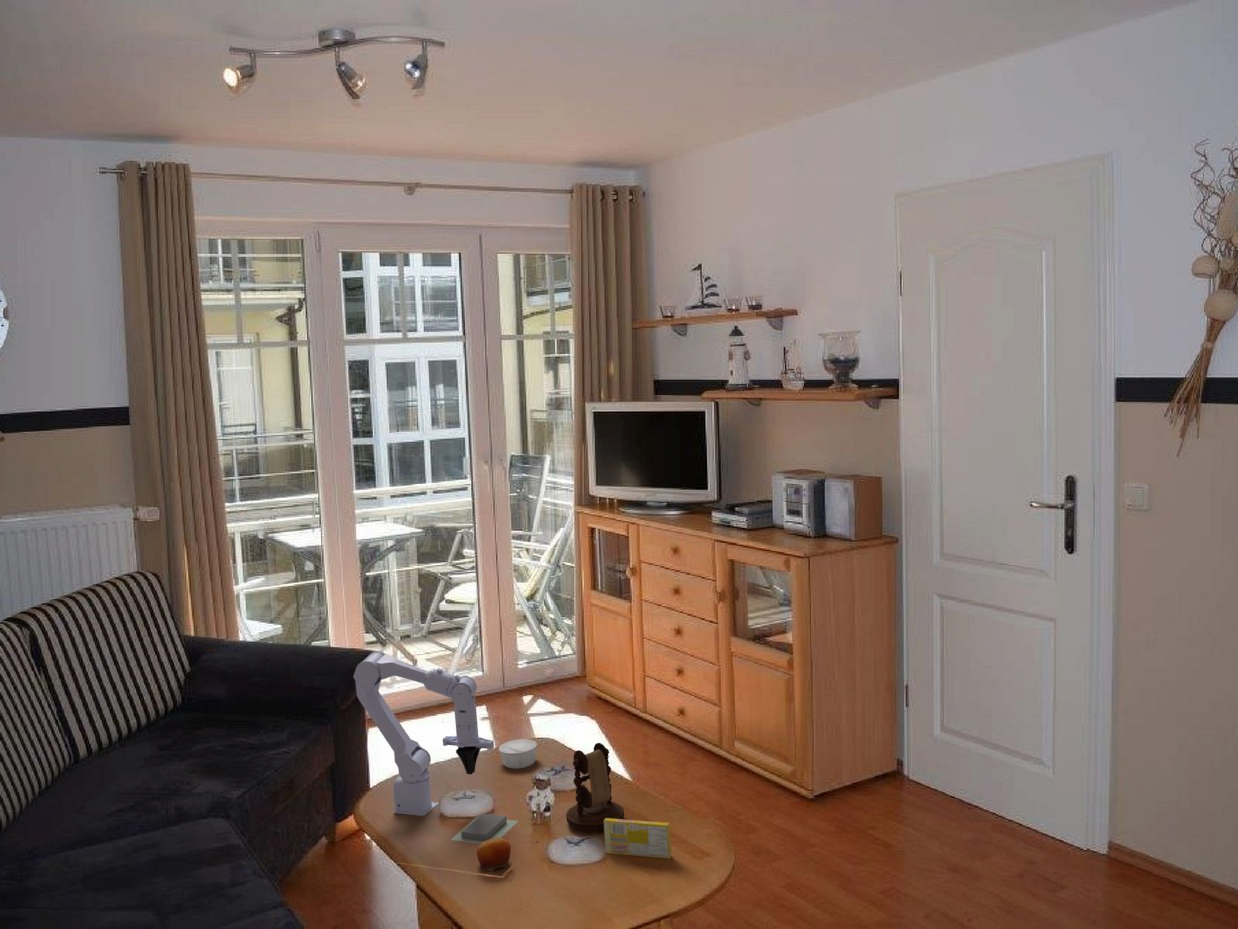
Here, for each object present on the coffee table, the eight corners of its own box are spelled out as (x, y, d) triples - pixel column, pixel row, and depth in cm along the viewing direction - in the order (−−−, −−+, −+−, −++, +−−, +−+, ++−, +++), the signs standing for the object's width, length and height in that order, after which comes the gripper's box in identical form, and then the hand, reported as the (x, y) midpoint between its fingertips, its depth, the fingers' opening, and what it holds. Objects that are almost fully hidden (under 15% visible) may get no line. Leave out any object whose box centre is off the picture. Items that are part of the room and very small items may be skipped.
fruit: (488, 875, 262) (479, 840, 265) (479, 880, 268) (470, 846, 271) (520, 865, 266) (511, 831, 268) (510, 870, 272) (502, 837, 275)
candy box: (672, 855, 269) (670, 822, 268) (669, 860, 267) (667, 826, 266) (608, 849, 274) (605, 817, 273) (605, 853, 272) (602, 820, 271)
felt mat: (450, 841, 284) (450, 840, 284) (477, 818, 297) (477, 816, 297) (492, 846, 280) (492, 845, 279) (518, 822, 292) (518, 821, 292)
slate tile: (461, 831, 284) (485, 834, 282) (482, 813, 294) (506, 816, 292) (461, 838, 284) (486, 841, 282) (482, 819, 295) (506, 822, 292)
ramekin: (495, 770, 329) (494, 753, 328) (505, 756, 340) (504, 739, 339) (533, 770, 327) (532, 753, 326) (542, 756, 338) (541, 739, 337)
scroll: (592, 840, 279) (586, 762, 277) (555, 823, 290) (549, 748, 288) (636, 820, 289) (631, 745, 287) (599, 805, 300) (593, 732, 298)
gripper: (434, 726, 299) (439, 776, 301) (482, 731, 294) (487, 781, 295) (449, 717, 306) (453, 766, 307) (496, 721, 300) (500, 771, 302)
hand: (470, 773), depth 302 cm, fingers closed
